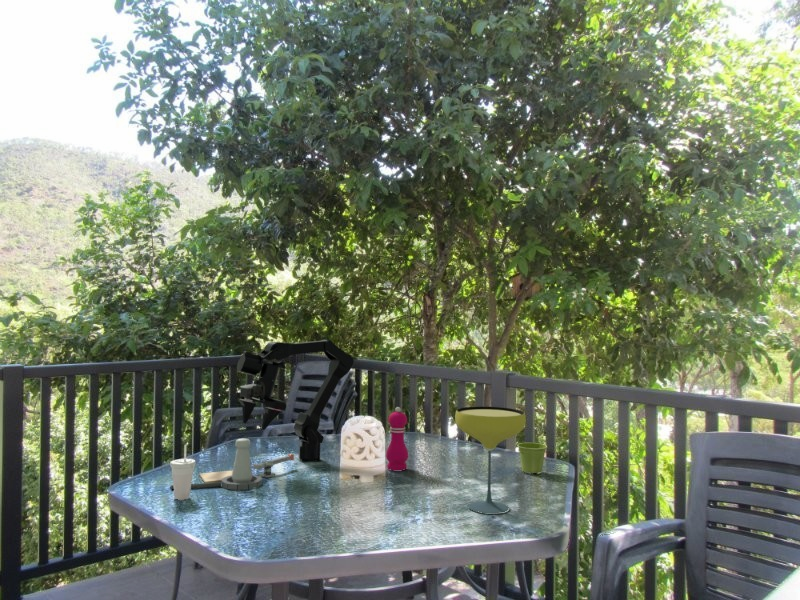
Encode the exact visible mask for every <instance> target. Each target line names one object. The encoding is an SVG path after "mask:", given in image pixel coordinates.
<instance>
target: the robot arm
mask: <svg viewBox="0 0 800 600" xmlns="http://www.w3.org/2000/svg"><path fill="white" fill-rule="evenodd" d="M320 352H321V353H323V354H324V356H325V357H326V358H327V359H328V360H329V361H330V362H329V365H328V371H327V375H326V376H325V379H324V380H323V382H322V384H321V385H320V388H319V390H318V391H317V393H316V394H315V397H314V399H313V401H312V402H311V404H310V406H309V408H308V409H307V410H306V411H305V412H301V411H300V412H299V413H298V415H297V417H296V420H294V422H293V423H294V425H293V431H294V433H295V435H296V436H297V437H298V440H299V441H300V445H299V446H298V458H299V460H300V461H301V462H302V463H309V462H321V461H322V459H321V444H322V443H323V440H324V438H325V437H324V435H322V434H321V432H319V427H320V424H321V415H322V414H323V412H324V410H325V408H326V407H327V406H328V403H329V401H330V399H331V397H332V395H333V393H334V392H335V390H336V388H337V386H338V385H339V383H340V381H341V379H342V378H344V377H346V376H347V374H349V372H350V371H351V369H352V368H353V367H354V364H355V361H354V358H353V356H352V355H351V354H350V353H346V352H345V351H344V350H343V349H342V348H340V347H339V346H337V345H336V343H334V342H333V341H332V340H330V339H322V340H314V341H313V340H312V341H303V342H292V343H291V342H282V341H280V342H279V341H269V342H267V344H266V345H265V347H264V349H262V350H261V351H259V353H257V354H254V353H251V352H249V351H243V353H242V354H241V356H240V358H239V359H238V361H237V365H236V371H237V372H238V373H242V374H245V375H251V376H254V377H255V376H257V375H258V378H257V379H254V380H253V382H252V383H251V384H244V385H240V386H239V390H238V391H237V393H236V395H235V398H237V401H238V402H239V403H240V405H241V409H242V423H243V424H247V423H248V421H249V419H250V417H251V415H252V413H253V411H254V409H255V407H256V405H257V403H259V404H260V403H261V404H264V405H265V406H263V410H264V417H263V420H262V426H261V430H264V431H265V430H266V428H268V426H269V425H270V424H271V423H272V422H273V420H275V418H276V417H278V415H280V414H282V413H283V412H284V411H286V409H287V406H288V404H287V403H286V401H285V400H280V399H275V396H273V393H274V389H277V388H278V384H276V382H277V379H278V375H279V373H280V369H283V370H286V369H287V367H286V365H285V363H284V361H283V359H287V358H291V357H292V356H295V355H301V354H302V355H303V354H313V353H320ZM275 360H278V361H275ZM265 361H268V362H265ZM256 402H257V403H256Z"/></svg>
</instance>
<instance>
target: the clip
mask: <svg viewBox="0 0 800 600" xmlns="http://www.w3.org/2000/svg"><path fill="white" fill-rule="evenodd" d="M294 455H295V454H293V453H288V454H287V455H285V456H283V457H278V458H274V459H272V460H264V461H261V463H260V462H259V463H253V464H252V468H253V470H255V469H256V470H264V468H265V467H271V468H272V467H274V466H275V465H278V464H281V463H284V462H285V463H286V462H288V461H294V459H295V458H294V457H295V456H294Z"/></svg>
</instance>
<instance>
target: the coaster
mask: <svg viewBox="0 0 800 600" xmlns="http://www.w3.org/2000/svg"><path fill="white" fill-rule="evenodd" d="M232 472H233V469H232V470H223V471H222V470H221V471H212V472H200V473H198V476H199V478H200V479H201V480H202V482H204V483H217V482H221V483H222V479H223V478H225V477H227V476H231V475H232Z"/></svg>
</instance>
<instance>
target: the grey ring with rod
mask: <svg viewBox="0 0 800 600" xmlns="http://www.w3.org/2000/svg"><path fill="white" fill-rule="evenodd" d="M262 485H263V478H262V477H261V476H259V475H257V474H252V479H251V481H250V482H248V483H234V482H233V480H232V475H231V476H227V477H225V478H223V479H222V482H217V483H191V489H203V488H205V489H207V488H219V487H221V488H223V489H227V490H231V491H232V490H235V491H242V490H244V491H245V490H251V489H252V490H253V489H256V488H258V487H260V486H262ZM169 488H170V490H171V489H174V488H173V484H172V485H170V486H169Z"/></svg>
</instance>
